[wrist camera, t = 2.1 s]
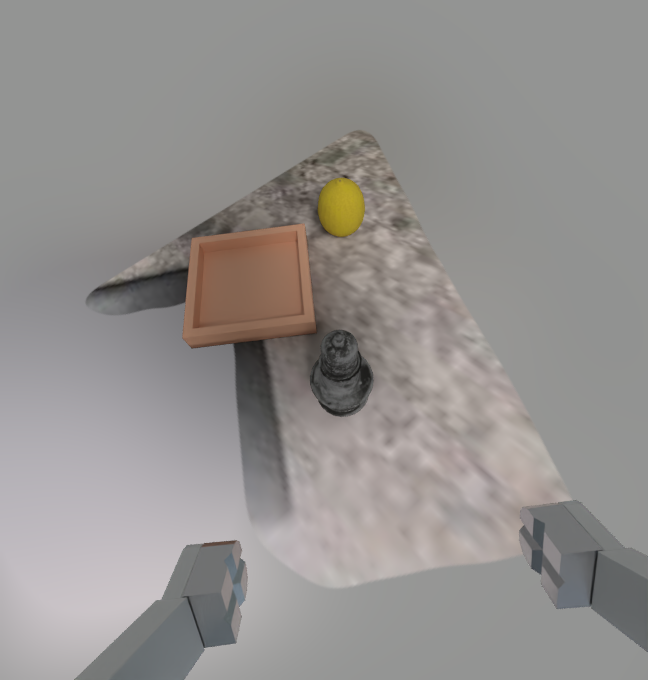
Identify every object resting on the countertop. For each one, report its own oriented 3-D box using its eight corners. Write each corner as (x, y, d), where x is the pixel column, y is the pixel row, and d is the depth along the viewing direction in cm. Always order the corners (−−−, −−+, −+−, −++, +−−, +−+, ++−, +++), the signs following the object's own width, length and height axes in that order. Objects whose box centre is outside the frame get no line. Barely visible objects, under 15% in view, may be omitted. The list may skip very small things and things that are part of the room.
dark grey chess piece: (302, 387, 37) (281, 332, 26) (345, 353, 38) (343, 288, 27) (338, 432, 34) (332, 391, 24) (384, 394, 36) (397, 339, 25)
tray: (191, 348, 40) (182, 338, 38) (199, 251, 46) (191, 238, 44) (316, 333, 39) (314, 321, 37) (306, 238, 46) (304, 223, 44)
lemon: (313, 228, 47) (306, 175, 40) (350, 211, 48) (349, 157, 40) (333, 256, 44) (330, 205, 37) (372, 238, 45) (375, 185, 38)
